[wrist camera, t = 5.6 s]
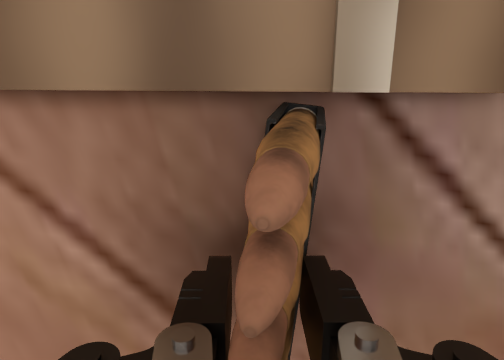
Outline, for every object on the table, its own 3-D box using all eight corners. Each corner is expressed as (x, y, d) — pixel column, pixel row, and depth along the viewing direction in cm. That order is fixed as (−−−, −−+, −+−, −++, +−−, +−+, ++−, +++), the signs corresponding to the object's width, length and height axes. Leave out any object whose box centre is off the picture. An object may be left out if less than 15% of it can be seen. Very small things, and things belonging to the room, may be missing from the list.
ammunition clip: (292, 318, 19) (254, 672, 8) (256, 311, 19) (168, 644, 8) (324, 106, 16) (342, 167, 5) (282, 101, 16) (202, 148, 5)
